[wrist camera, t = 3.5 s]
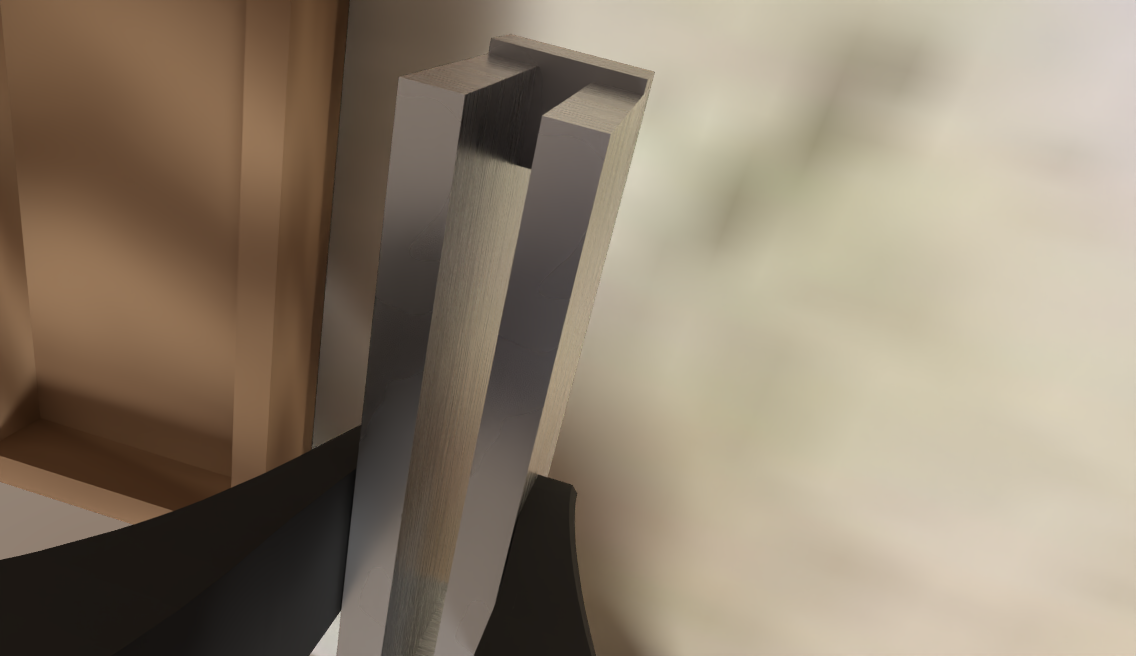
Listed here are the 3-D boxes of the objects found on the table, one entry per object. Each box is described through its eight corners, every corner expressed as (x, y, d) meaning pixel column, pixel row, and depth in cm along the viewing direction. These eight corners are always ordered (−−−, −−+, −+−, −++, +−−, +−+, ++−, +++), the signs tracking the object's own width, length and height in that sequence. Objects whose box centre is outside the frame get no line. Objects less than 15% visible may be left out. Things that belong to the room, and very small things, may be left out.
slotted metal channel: (498, 665, 16) (423, 882, 12) (407, 634, 17) (305, 838, 13) (654, 71, 10) (608, 121, 6) (511, 34, 11) (379, 60, 7)
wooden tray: (306, 512, 24) (260, 565, 21) (30, 426, 24) (-43, 468, 22) (359, -117, 16) (299, -143, 14) (-35, -208, 17) (-154, -247, 15)
